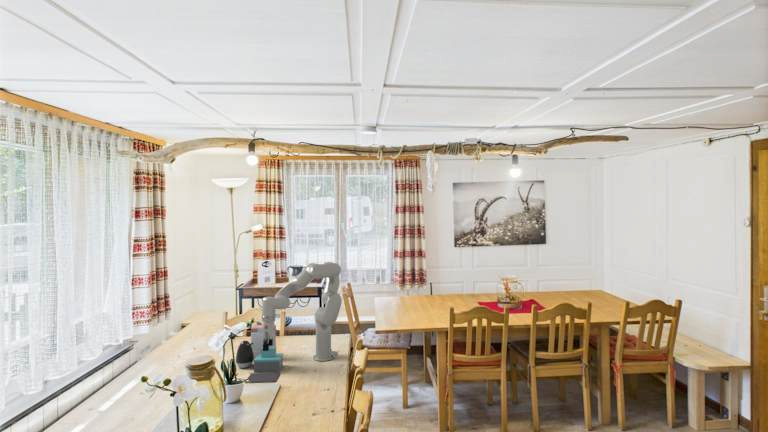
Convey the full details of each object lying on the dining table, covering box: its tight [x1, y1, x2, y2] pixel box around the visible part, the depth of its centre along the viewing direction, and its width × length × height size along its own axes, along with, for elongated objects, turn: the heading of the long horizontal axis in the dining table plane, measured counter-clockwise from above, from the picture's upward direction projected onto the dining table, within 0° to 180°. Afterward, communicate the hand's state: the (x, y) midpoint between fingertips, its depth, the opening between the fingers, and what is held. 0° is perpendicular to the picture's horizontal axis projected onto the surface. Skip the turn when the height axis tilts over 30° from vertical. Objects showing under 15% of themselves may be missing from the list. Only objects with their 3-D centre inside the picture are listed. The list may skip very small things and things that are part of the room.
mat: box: [245, 371, 281, 384], centre depth 207 cm, size 12×16×1 cm
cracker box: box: [250, 324, 277, 359], centre depth 235 cm, size 14×6×21 cm, turn 84°
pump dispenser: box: [235, 339, 254, 369], centre depth 224 cm, size 10×10×15 cm
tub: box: [253, 356, 284, 373], centre depth 220 cm, size 10×14×6 cm
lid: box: [253, 346, 284, 363], centre depth 220 cm, size 11×15×7 cm
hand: (267, 348), depth 220 cm, fingers open, 9 cm apart
